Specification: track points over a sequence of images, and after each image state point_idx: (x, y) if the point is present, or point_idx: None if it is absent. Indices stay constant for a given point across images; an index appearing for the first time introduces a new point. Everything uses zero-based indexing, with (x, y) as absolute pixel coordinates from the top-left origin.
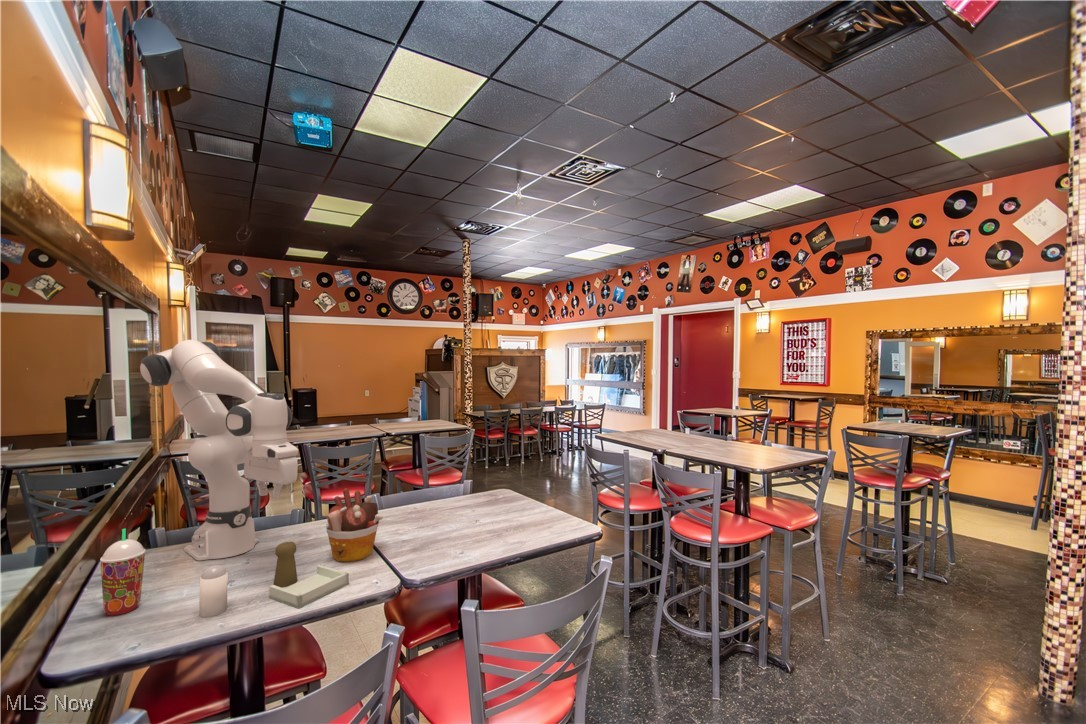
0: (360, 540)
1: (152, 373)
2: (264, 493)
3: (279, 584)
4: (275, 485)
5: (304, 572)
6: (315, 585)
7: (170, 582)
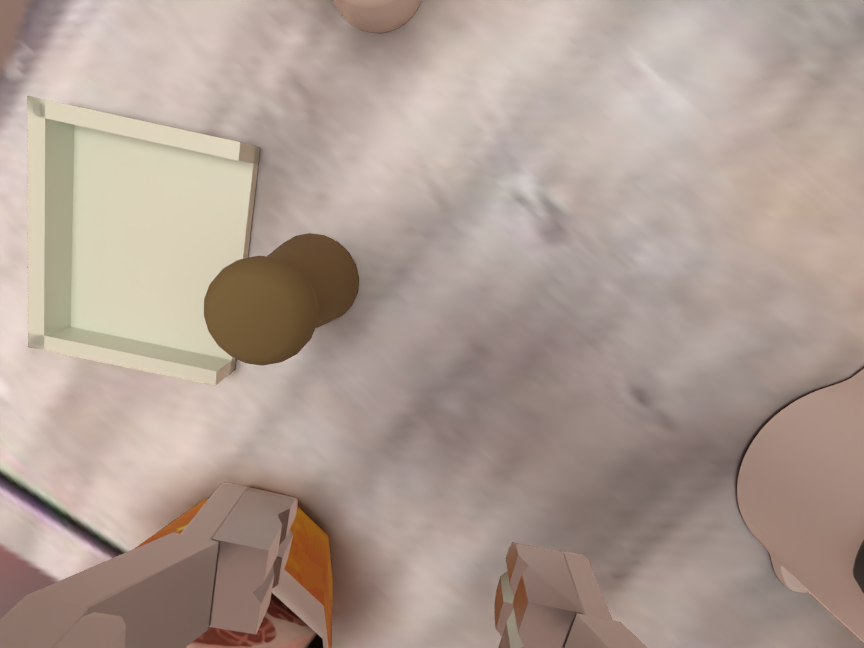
0: None
1: None
2: (515, 591)
3: (297, 238)
4: (16, 627)
5: (319, 376)
6: (145, 269)
7: (824, 144)
